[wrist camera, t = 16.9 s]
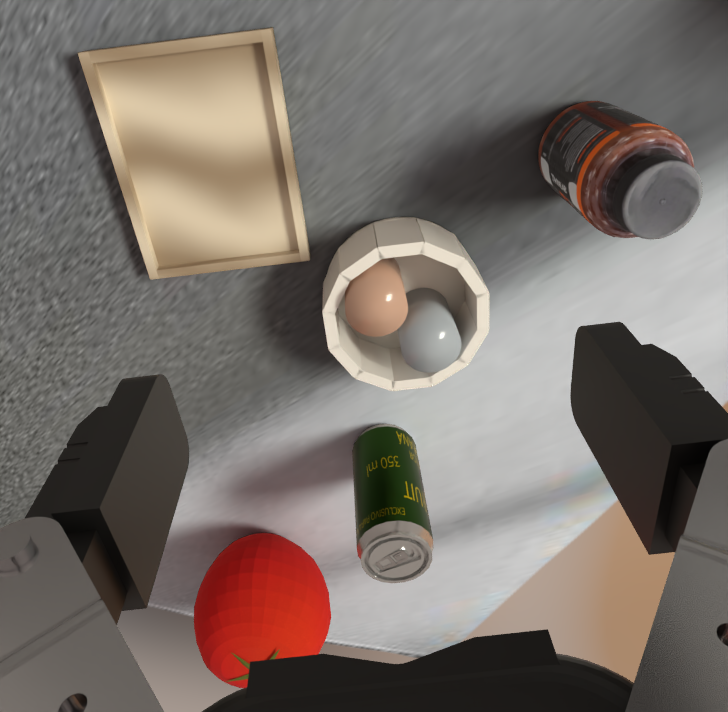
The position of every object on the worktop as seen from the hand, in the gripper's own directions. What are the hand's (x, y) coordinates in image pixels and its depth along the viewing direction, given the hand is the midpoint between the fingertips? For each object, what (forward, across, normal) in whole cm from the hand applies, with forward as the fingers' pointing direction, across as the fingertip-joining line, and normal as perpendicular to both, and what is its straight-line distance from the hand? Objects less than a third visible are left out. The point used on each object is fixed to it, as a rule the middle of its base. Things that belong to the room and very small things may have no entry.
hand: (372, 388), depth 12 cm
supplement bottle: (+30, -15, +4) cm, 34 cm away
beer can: (+30, 0, +27) cm, 41 cm away
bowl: (+30, -2, +12) cm, 33 cm away
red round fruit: (+30, +12, +38) cm, 50 cm away
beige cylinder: (+30, -1, +11) cm, 31 cm away
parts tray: (+30, +9, +2) cm, 31 cm away
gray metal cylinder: (+30, -4, +14) cm, 33 cm away
